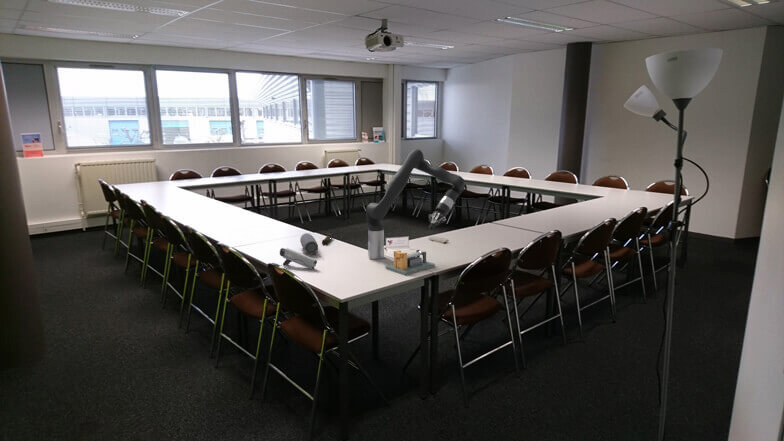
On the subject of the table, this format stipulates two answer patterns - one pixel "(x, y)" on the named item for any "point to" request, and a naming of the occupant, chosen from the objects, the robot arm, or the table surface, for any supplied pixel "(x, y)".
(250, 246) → the table surface
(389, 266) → the socket board
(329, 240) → the hand tool
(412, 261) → the heat sink
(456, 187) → the robot arm
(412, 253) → the grey rod
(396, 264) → the tan upright block
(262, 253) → the table surface
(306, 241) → the bluetooth speaker
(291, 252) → the gun
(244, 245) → the table surface
